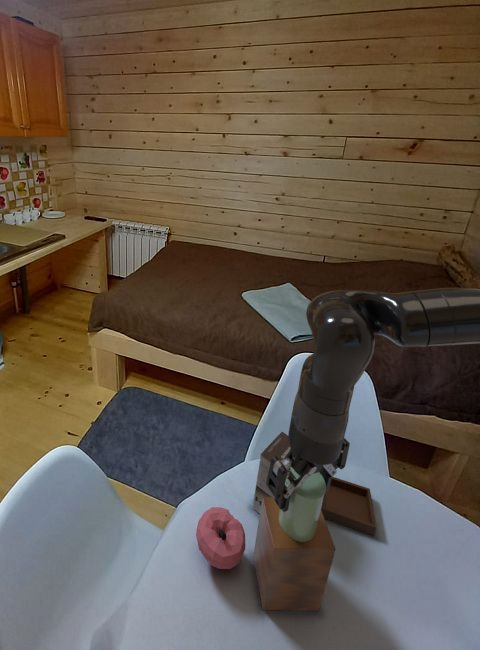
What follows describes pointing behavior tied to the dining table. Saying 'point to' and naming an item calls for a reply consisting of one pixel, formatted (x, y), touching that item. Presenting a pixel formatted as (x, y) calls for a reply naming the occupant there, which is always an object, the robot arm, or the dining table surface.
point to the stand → (290, 563)
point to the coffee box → (276, 448)
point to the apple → (220, 538)
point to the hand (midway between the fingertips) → (302, 496)
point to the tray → (349, 506)
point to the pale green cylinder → (303, 508)
